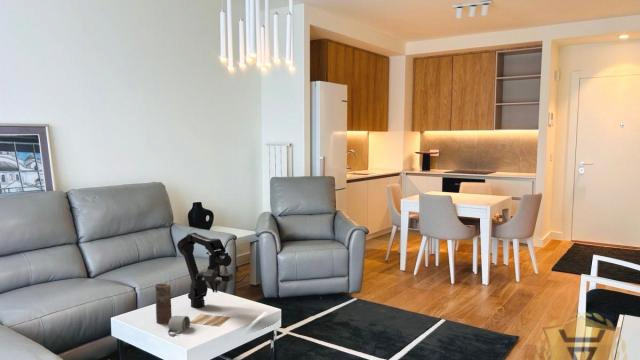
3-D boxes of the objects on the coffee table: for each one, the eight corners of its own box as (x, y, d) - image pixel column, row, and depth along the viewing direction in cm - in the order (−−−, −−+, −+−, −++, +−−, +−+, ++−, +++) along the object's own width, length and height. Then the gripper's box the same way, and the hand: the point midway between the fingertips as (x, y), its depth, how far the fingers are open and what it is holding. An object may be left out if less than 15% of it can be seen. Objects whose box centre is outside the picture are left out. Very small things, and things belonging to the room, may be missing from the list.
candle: (155, 322, 240) (154, 283, 239) (170, 319, 243) (170, 281, 242) (157, 327, 233) (156, 287, 232) (172, 325, 236) (171, 285, 235)
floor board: (202, 327, 234) (202, 324, 234) (215, 317, 246) (215, 315, 246) (219, 328, 231) (219, 326, 231) (231, 319, 244) (231, 317, 244)
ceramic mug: (175, 327, 233) (175, 312, 233) (190, 329, 231) (190, 313, 230) (163, 336, 223) (162, 320, 222) (179, 338, 221) (178, 322, 220)
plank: (189, 324, 236) (189, 321, 236) (201, 315, 248) (201, 313, 248) (201, 326, 235) (201, 324, 234) (213, 317, 246) (213, 315, 246)
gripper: (190, 265, 243) (191, 295, 244) (223, 268, 238) (224, 298, 240) (201, 260, 254) (202, 289, 255) (233, 263, 249) (233, 292, 250)
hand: (215, 292), depth 250 cm, fingers closed
